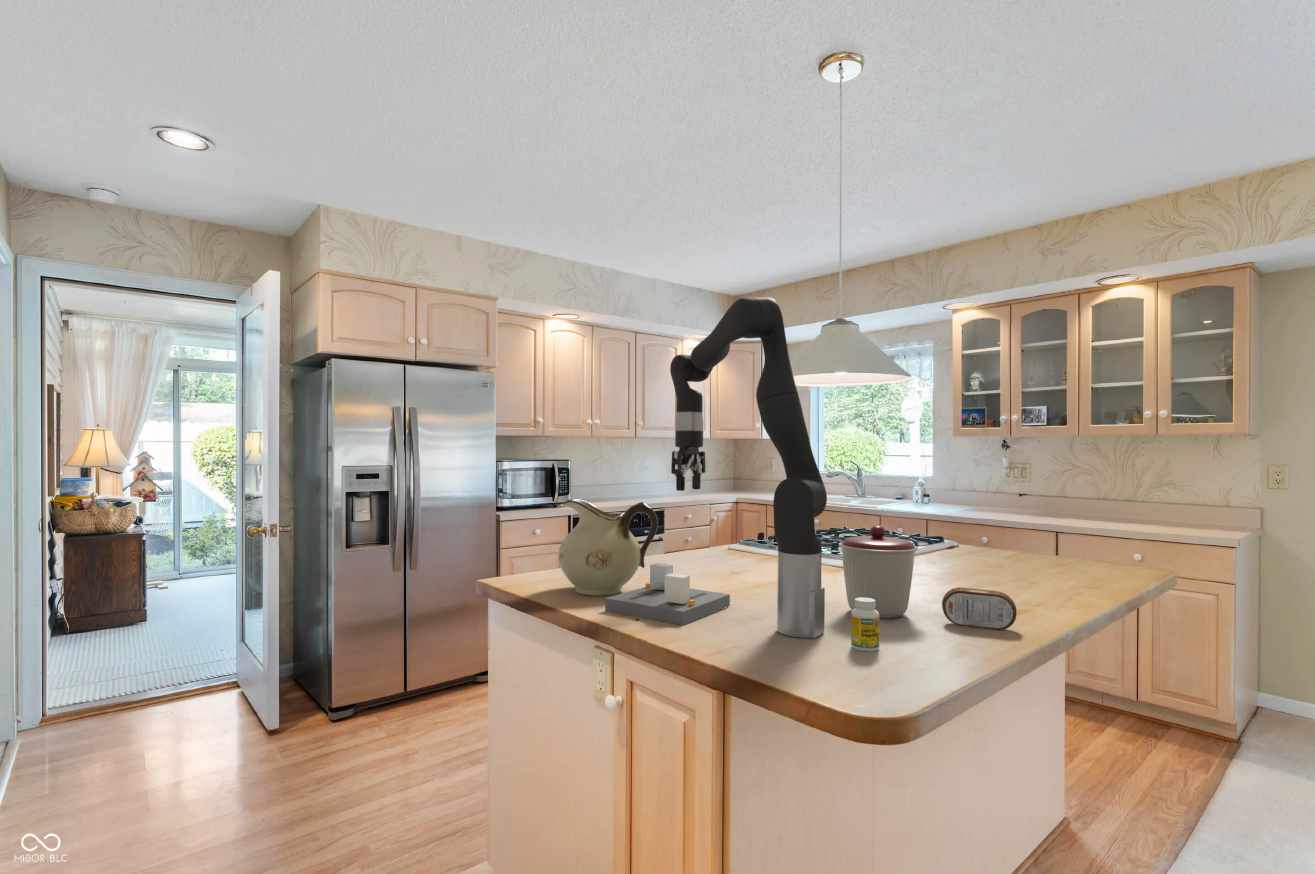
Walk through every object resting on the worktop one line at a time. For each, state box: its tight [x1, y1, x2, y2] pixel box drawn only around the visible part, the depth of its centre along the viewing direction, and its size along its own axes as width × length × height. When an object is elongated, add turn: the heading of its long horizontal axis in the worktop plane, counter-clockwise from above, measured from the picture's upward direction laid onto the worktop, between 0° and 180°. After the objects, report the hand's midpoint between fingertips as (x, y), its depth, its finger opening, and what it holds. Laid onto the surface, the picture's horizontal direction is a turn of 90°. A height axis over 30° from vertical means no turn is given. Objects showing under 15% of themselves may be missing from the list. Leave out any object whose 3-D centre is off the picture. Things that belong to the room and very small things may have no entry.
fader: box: [664, 573, 691, 604], centre depth 154 cm, size 5×3×6 cm, turn 56°
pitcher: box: [558, 497, 659, 597], centre depth 181 cm, size 22×24×25 cm
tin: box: [941, 586, 1017, 631], centre depth 147 cm, size 15×3×8 cm, turn 65°
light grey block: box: [649, 562, 674, 590], centre depth 169 cm, size 5×3×6 cm, turn 56°
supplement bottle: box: [850, 598, 880, 653], centre depth 131 cm, size 5×5×10 cm
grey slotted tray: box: [604, 582, 731, 626], centre depth 161 cm, size 22×22×4 cm
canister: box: [838, 525, 919, 619], centre depth 159 cm, size 18×18×21 cm
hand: (688, 490), depth 177 cm, fingers open, 8 cm apart
